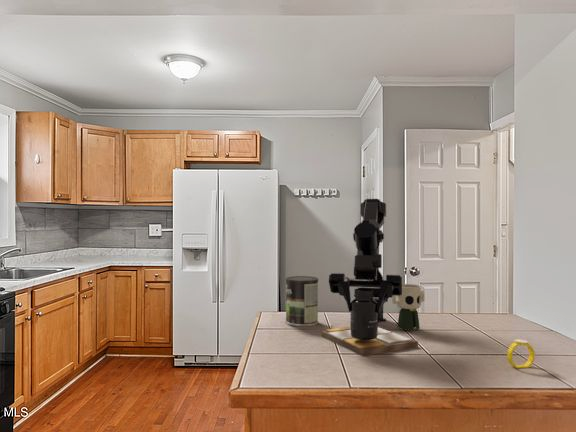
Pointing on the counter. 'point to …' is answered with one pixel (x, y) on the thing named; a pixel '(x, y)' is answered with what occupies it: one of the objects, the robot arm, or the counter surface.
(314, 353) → the counter surface
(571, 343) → the counter surface
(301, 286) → the coffee can
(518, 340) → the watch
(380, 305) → the robot arm
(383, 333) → the wooden tray
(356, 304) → the supplement bottle
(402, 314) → the character mug
